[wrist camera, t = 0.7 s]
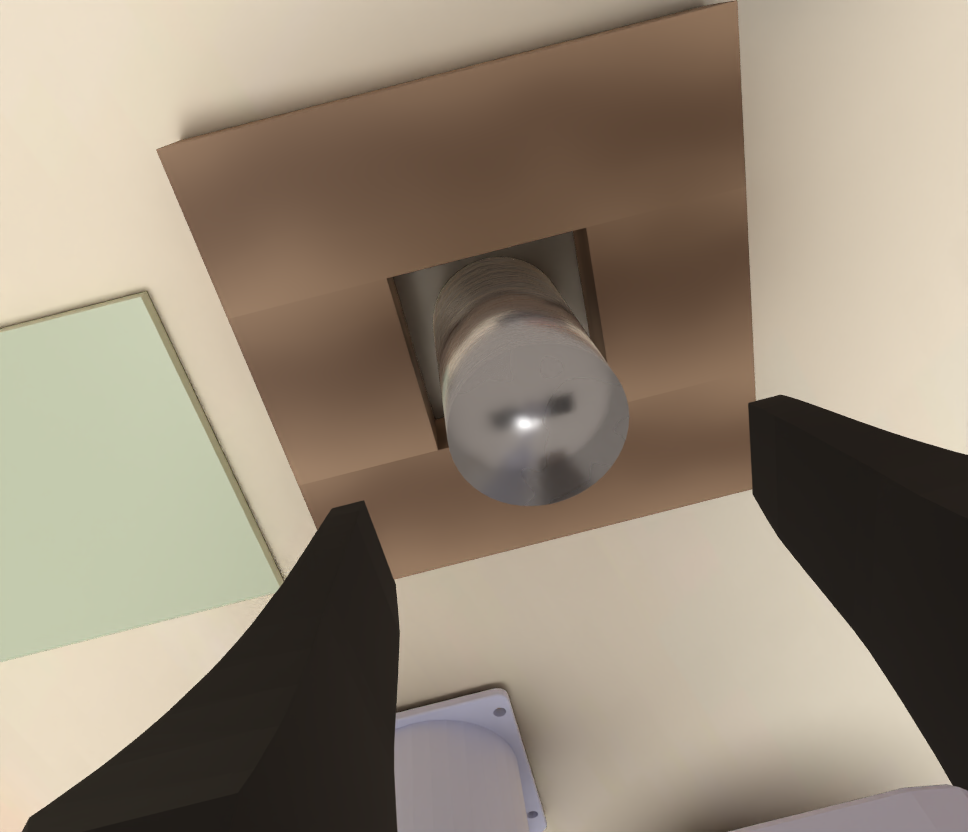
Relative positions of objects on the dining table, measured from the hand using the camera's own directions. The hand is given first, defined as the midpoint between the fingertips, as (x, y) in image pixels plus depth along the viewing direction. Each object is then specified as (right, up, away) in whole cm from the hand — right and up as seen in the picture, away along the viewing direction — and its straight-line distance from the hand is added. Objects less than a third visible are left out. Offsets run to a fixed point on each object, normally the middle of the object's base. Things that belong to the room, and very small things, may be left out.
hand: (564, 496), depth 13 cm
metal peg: (-1, +4, +9) cm, 10 cm away
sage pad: (-15, -1, +10) cm, 18 cm away
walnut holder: (-1, +4, +8) cm, 10 cm away
